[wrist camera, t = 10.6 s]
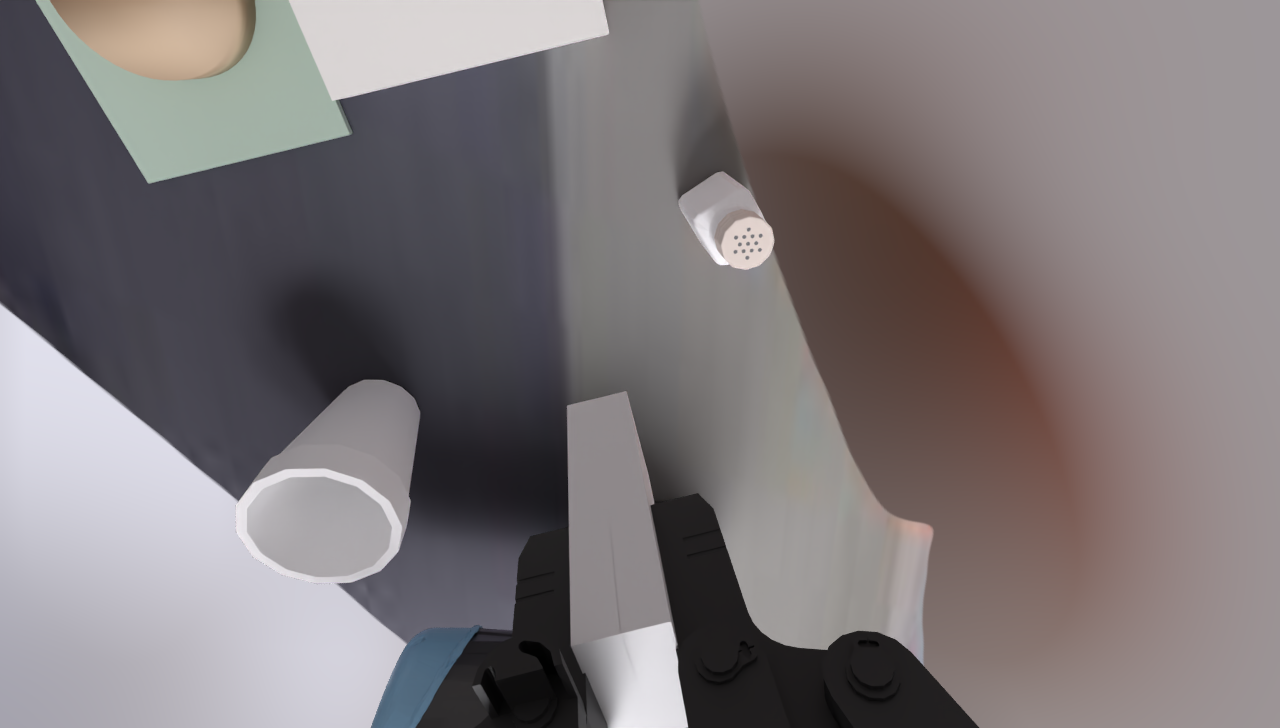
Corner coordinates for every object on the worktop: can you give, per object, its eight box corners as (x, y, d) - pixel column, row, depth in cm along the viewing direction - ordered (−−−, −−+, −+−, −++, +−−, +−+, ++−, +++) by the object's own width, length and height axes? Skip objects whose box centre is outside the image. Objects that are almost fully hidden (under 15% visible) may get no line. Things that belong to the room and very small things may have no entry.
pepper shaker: (700, 243, 43) (733, 289, 35) (673, 198, 41) (701, 234, 33) (747, 213, 42) (792, 252, 34) (721, 166, 41) (763, 194, 32)
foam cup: (454, 448, 49) (422, 568, 38) (345, 470, 49) (280, 597, 37) (416, 350, 44) (366, 453, 33) (296, 373, 44) (203, 485, 33)
